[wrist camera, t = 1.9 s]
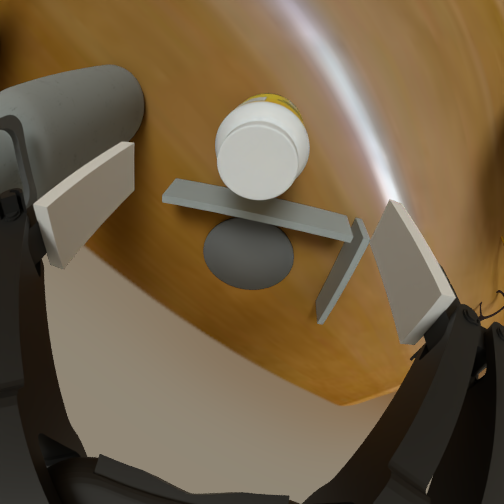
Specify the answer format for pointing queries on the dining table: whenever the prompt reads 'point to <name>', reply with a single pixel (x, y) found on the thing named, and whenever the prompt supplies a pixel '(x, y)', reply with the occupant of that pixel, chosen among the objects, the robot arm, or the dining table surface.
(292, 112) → the pill bottle
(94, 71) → the water bottle
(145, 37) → the dining table surface
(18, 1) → the dining table surface
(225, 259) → the coaster
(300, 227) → the fence long
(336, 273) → the fence end
